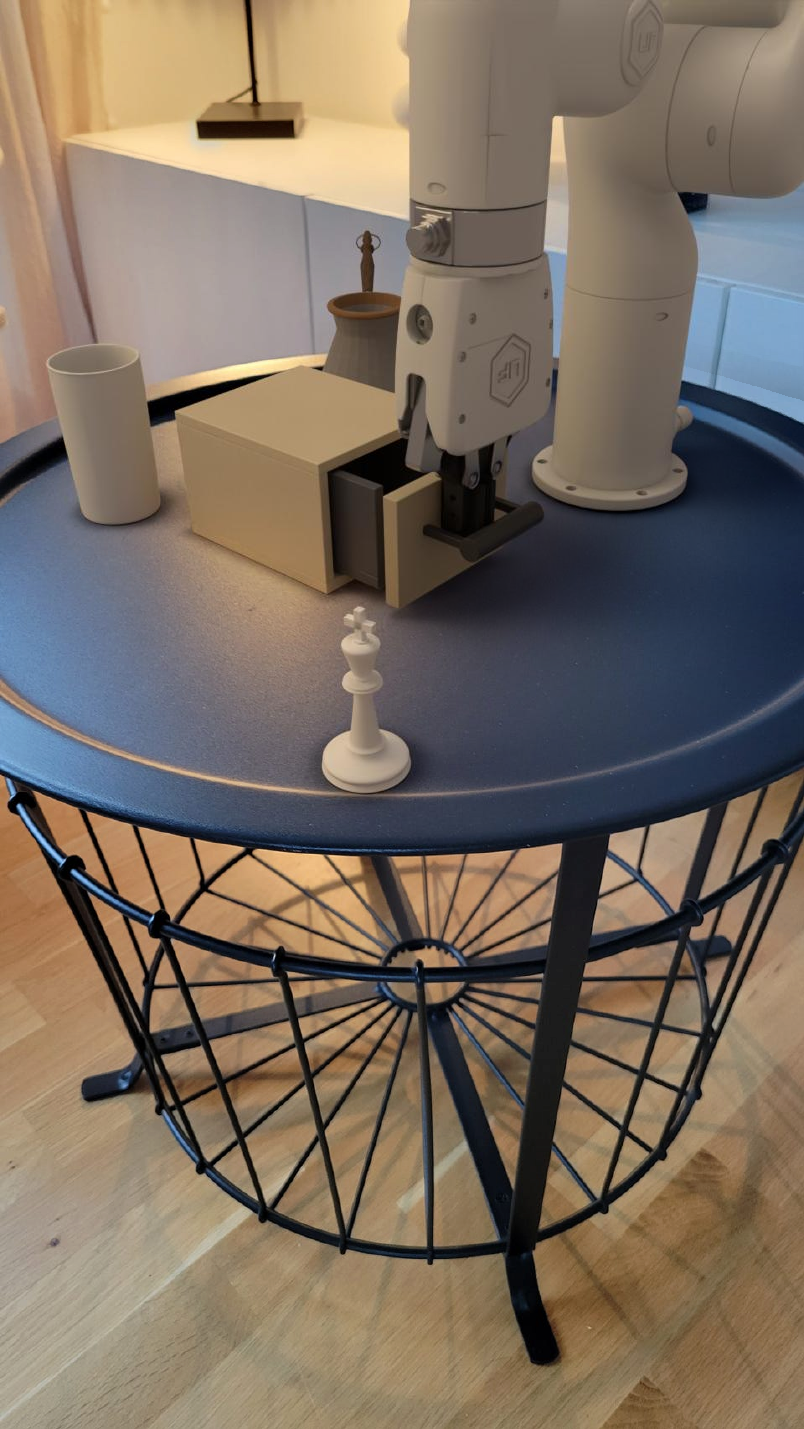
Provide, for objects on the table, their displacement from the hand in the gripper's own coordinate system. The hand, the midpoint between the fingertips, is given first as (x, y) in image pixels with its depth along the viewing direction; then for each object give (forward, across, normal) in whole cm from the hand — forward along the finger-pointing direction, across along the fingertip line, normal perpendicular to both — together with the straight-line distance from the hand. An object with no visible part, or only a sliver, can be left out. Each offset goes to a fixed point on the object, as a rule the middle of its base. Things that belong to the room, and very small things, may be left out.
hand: (466, 533), depth 69 cm
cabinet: (+5, +1, +15) cm, 16 cm away
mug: (+5, -6, +31) cm, 32 cm away
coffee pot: (+5, +18, +25) cm, 31 cm away
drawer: (+4, +1, +6) cm, 7 cm away
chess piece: (+6, -17, -7) cm, 19 cm away
